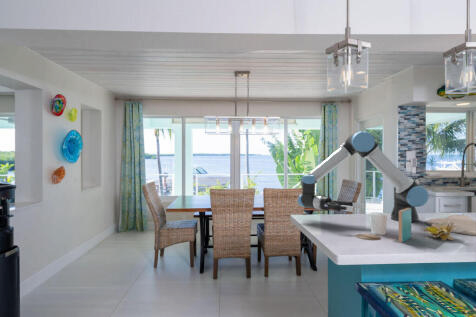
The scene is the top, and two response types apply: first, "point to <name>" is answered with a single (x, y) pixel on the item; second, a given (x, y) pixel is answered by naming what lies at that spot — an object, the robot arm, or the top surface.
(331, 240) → the top surface
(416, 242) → the mat
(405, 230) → the tile
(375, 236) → the coaster
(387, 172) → the robot arm
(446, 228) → the decorative flower
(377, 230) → the white cup
